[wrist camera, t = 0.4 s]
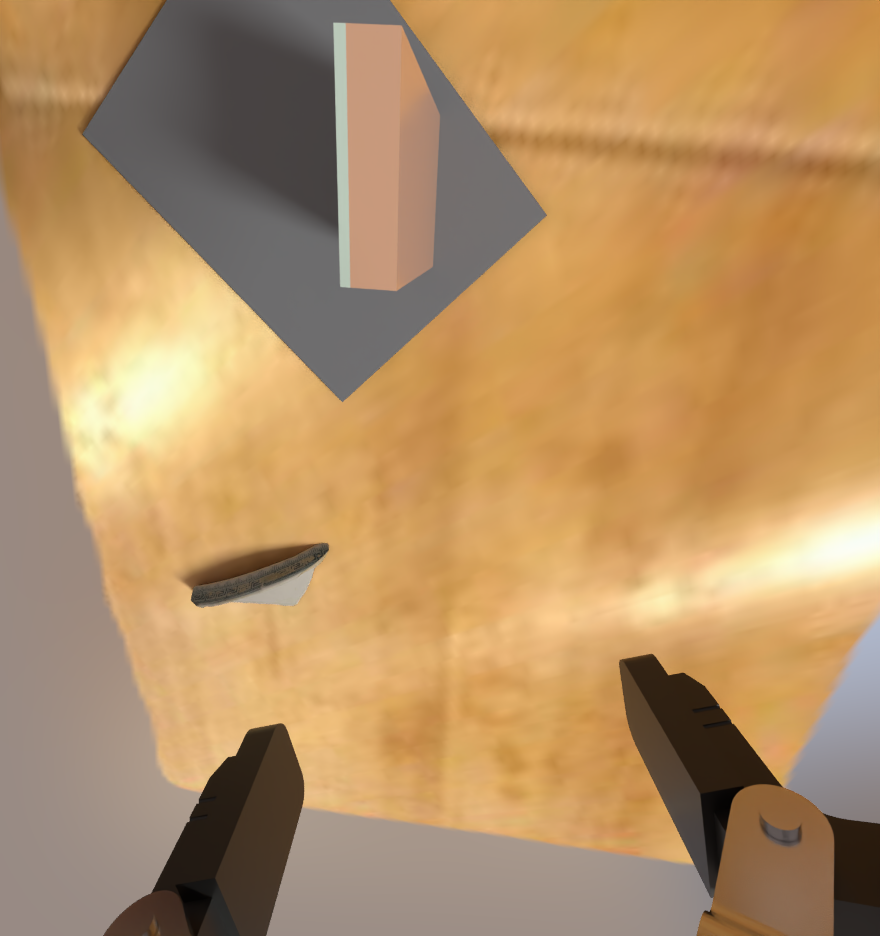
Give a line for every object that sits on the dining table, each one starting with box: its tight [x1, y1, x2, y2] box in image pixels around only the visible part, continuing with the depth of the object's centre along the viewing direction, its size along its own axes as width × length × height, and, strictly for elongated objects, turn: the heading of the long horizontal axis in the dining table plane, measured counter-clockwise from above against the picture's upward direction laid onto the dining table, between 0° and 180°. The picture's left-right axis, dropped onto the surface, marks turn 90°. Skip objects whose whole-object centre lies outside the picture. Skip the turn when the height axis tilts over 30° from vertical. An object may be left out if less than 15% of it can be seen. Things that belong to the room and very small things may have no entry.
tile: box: [333, 23, 440, 291], centre depth 24 cm, size 2×8×14 cm, turn 177°
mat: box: [82, 0, 547, 402], centre depth 31 cm, size 22×18×1 cm
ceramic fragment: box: [191, 543, 329, 608], centre depth 44 cm, size 14×5×4 cm, turn 111°
